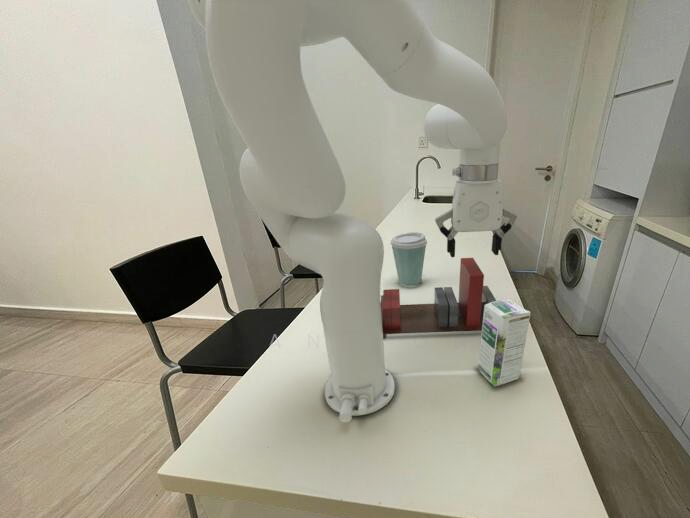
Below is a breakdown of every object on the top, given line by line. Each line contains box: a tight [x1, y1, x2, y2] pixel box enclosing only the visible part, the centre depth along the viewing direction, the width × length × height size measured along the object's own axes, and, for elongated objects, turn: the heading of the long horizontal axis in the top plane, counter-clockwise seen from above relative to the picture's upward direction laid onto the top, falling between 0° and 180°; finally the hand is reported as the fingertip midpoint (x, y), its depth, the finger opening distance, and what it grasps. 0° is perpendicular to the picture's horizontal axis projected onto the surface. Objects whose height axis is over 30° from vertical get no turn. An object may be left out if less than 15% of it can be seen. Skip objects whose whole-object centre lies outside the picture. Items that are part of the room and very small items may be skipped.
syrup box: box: [477, 298, 531, 388], centre depth 60 cm, size 6×6×14 cm
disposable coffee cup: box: [390, 231, 428, 286], centre depth 99 cm, size 11×11×15 cm
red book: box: [457, 257, 485, 327], centre depth 78 cm, size 11×3×13 cm, turn 1°
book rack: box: [380, 285, 497, 339], centre depth 80 cm, size 14×28×7 cm, turn 91°
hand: (473, 254), depth 74 cm, fingers open, 9 cm apart
